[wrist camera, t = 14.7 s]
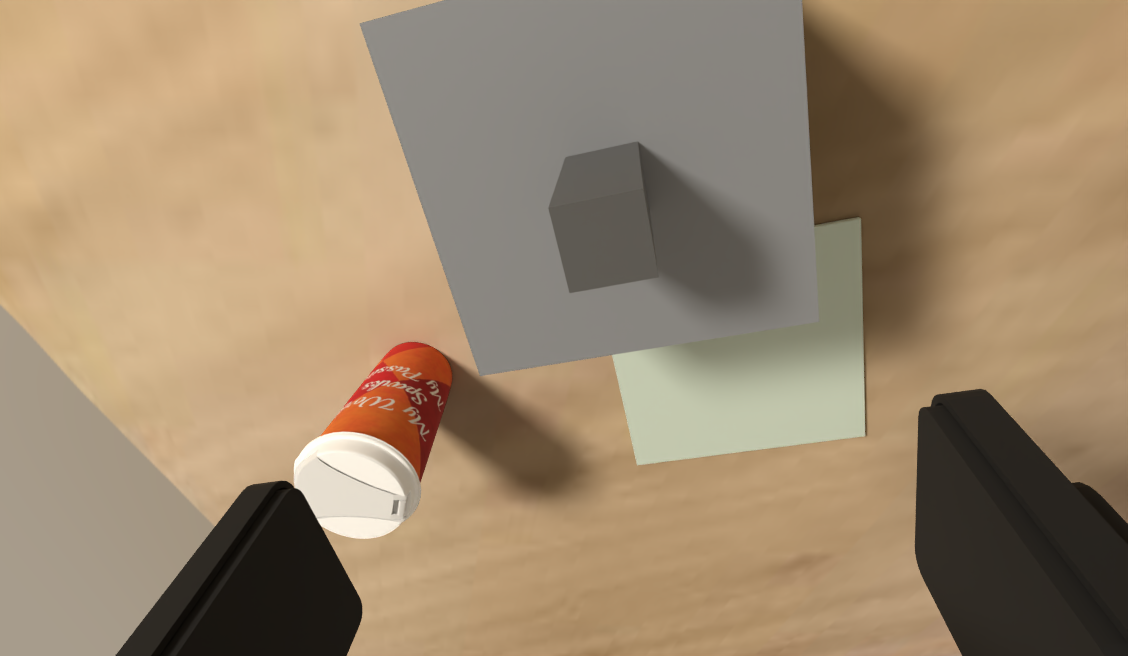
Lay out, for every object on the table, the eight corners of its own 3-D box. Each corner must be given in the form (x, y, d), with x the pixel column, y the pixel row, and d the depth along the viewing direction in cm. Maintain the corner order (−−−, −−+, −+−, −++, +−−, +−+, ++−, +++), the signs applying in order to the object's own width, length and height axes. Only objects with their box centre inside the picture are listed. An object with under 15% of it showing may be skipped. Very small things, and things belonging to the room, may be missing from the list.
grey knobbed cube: (721, -58, 37) (868, -133, 15) (748, 205, 44) (874, 412, 22) (462, 12, 40) (270, 33, 18) (527, 248, 47) (445, 469, 25)
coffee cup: (473, 342, 51) (422, 464, 38) (458, 421, 55) (407, 556, 42) (372, 318, 51) (285, 432, 38) (364, 399, 55) (282, 528, 41)
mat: (859, 216, 44) (861, 218, 43) (863, 433, 52) (865, 436, 52) (592, 266, 47) (592, 268, 47) (637, 462, 56) (637, 465, 55)
